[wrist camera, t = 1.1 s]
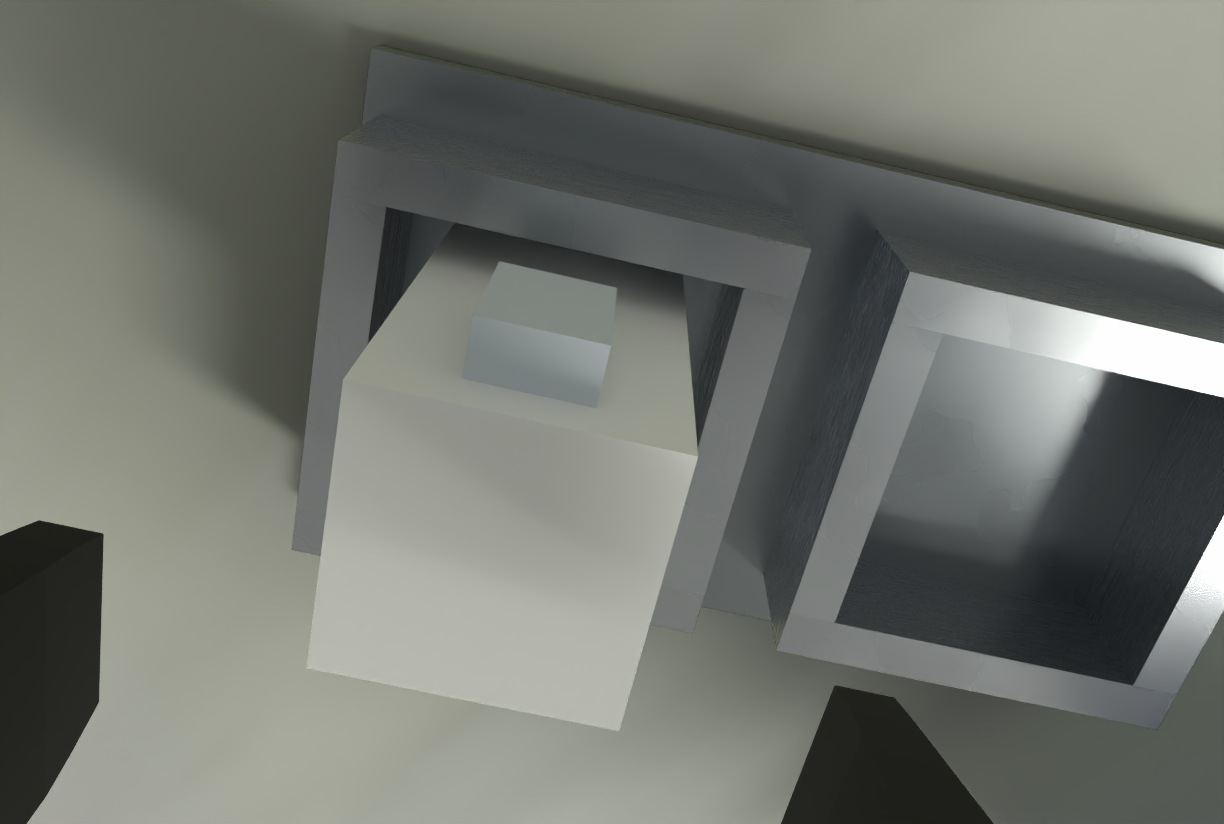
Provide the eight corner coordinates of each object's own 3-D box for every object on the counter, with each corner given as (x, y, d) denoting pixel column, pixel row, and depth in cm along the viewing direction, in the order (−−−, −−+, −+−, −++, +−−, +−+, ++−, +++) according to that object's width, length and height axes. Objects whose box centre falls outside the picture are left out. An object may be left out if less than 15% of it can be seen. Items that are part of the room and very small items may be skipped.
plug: (630, 476, 20) (619, 731, 13) (420, 430, 20) (306, 667, 13) (694, 231, 18) (717, 392, 11) (462, 177, 18) (351, 311, 11)
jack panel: (1084, 671, 22) (1146, 774, 19) (321, 509, 21) (271, 595, 18) (1292, 260, 18) (1404, 316, 16) (380, 44, 17) (328, 64, 15)
